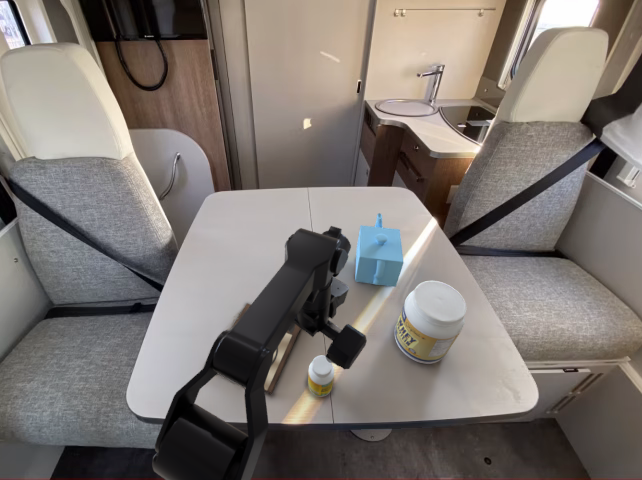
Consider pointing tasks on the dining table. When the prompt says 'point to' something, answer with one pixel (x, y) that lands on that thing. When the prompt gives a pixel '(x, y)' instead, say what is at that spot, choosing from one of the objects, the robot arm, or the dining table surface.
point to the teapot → (378, 255)
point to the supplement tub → (430, 321)
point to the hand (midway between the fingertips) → (310, 345)
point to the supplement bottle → (320, 376)
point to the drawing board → (277, 356)
